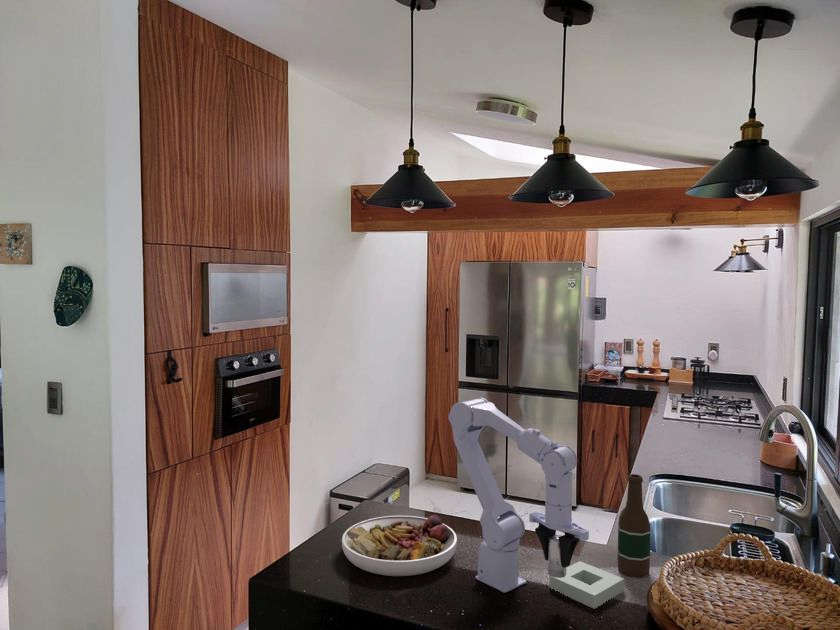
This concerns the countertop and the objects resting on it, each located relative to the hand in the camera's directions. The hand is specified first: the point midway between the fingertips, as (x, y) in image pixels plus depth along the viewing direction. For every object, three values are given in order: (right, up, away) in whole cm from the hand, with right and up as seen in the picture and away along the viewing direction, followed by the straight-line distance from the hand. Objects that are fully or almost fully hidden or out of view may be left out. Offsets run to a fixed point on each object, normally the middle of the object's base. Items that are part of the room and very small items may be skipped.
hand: (557, 562), depth 136 cm
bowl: (-36, -8, +25) cm, 44 cm away
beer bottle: (+22, -9, +16) cm, 29 cm away
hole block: (+8, -9, +6) cm, 13 cm away
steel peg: (0, -3, 0) cm, 2 cm away
